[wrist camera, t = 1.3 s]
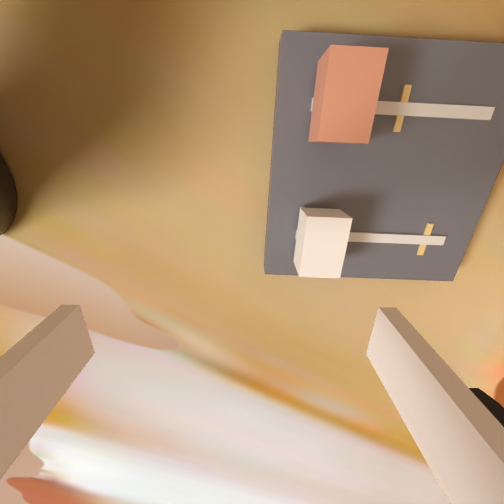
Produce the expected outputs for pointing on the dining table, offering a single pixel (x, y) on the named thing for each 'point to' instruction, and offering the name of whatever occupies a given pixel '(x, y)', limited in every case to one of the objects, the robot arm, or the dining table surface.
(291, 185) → the slider panel
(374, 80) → the fader
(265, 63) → the dining table surface
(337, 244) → the fader
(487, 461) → the robot arm
